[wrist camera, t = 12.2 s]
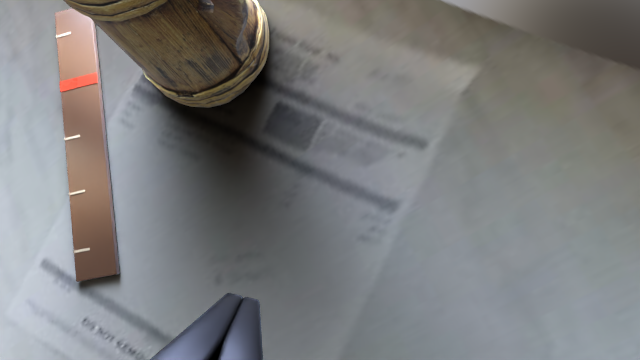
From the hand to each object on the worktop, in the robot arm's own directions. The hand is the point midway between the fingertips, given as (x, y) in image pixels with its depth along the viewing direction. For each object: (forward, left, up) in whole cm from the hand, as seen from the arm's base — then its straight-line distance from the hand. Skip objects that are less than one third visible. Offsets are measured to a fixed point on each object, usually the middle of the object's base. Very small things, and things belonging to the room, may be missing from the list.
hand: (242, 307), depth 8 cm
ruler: (-11, +15, -12) cm, 22 cm away
